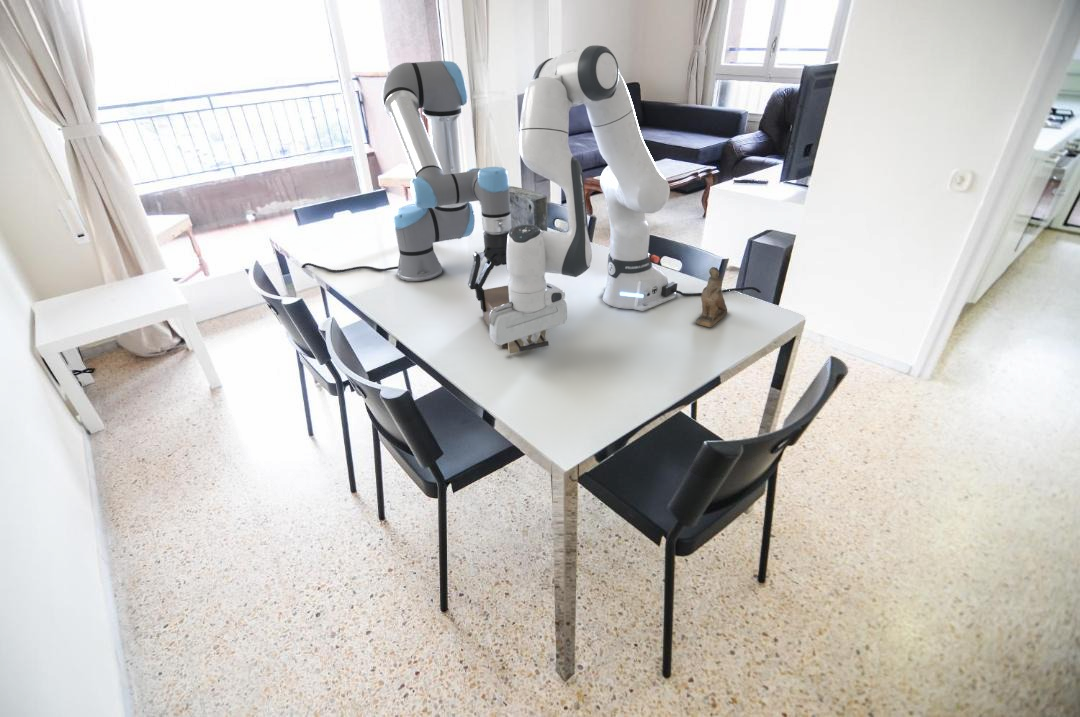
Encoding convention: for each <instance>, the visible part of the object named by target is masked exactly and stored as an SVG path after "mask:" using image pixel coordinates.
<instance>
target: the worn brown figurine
mask: <svg viewBox="0 0 1080 717" xmlns="http://www.w3.org/2000/svg"><path fill="white" fill-rule="evenodd" d="M708 273H709V275H710V276H709V278H708V279H707V280H708V281H707V284H706V286H705V287H704V288H703V290H702V292H701V293H702V295H701V297H700V298H701V309H702V312H701V315H700V316H699V317H698V318H697V319H696V321H695V324H696V325H699V326H703V327H705V328H712V327H714V326H715V325H716V324H717V323H719V321H721V320H722V319H723V318H725V317H726V316H727V315H728V307H727V304H726V301H725V298H724V293H722V290H723V289H722V287H723V281H722V279H721V278H720V270H719V269H718V268H717V267H715V266H712V267H711V268H710V269H709V270H708Z"/></svg>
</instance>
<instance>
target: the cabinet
mask: <svg viewBox="0 0 1080 717" xmlns="http://www.w3.org/2000/svg"><path fill="white" fill-rule="evenodd" d="M483 290H484V296H485V306H486V312H483V311H482V318H483V321H485V323H486V325H487V327H488V328H489V329H490V321H489V313H490V312H491V311H492V310H493V309H494V307H496V306H501V305H504V304H506V303H509V291H508V285H501V286H497V287H491V288H485V289H483ZM493 312H494V311H493ZM499 346H500V348H501V349H506V348H507V349H508V344H507V343H505V344H502V345H499Z"/></svg>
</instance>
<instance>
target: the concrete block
mask: <svg viewBox="0 0 1080 717" xmlns="http://www.w3.org/2000/svg"><path fill="white" fill-rule="evenodd" d="M509 194H510V212H511V227H512V228H511V229H513V228H514V227H516V226H519V225H525V224H530V225H535V226H537V227H539V228H540V229H541V231H548V196H547V195H546V194H543V193H541V192H537V191H534V190H531V189H527V188H523V187H518V186H511V185H509ZM511 229H510V230H511Z"/></svg>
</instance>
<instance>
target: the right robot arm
mask: <svg viewBox="0 0 1080 717" xmlns="http://www.w3.org/2000/svg"><path fill="white" fill-rule="evenodd" d="M581 105H584V106H585V109H586V114H587V116H588V120H589V123H590V127H591V129H592V133H593V136H594V139H595V142H596V145H597V148H598V151H599V154H600V156H601V157H602V159H603V160H604V161H605V163H606V164H607V166H605V168H603V169H602V172H601V175H600V177H599V186H600V189H601V191H602V194H603V195H604V198H605V203H606V208H607V216H608V219H609V229H610V230H609V231H610V236H609V238H610V240H609V253H608V254H607V255H608V257H607V280H606V285H605V289H604V291H603V292H604V293H603V294H602V301H603V302H604V303H605V304H606V305H608V306H611V307H613V308H619V309H624V310H625V309H626V310H636V311H641V312H644V311H647V310H650V309H652V308H654V307H656V306H659V305H661V304H663V303H666V302H668V301H671V300H673V299H675V298H676V294H679V295H680V296H684V297H699V296H702V292H697V293H696V292H695V293H693V292H690V293H689V292H682V291H680V290H678V282H675V281H670V282H669V279H668V277H667V275H665V273H663V271H661V270H660V269H658V268H657V267H655V266H654V265H653V263H654V264H658V263H659V262H660V260H661V259H660V256H658V255H655V254H651V253H650V252H649V248H650V236H651V229H650V225H649V222H648V221H647V219H646V218H647V217H646V215H645V214H655V213H657V212H659V211H661V210H662V209H663V208H664V207H665V206H666V204H667V203H668V201H669V198H670V193H671V189H670V184H669V182H668V180H667V179H666V178H665V176H664V175H663V174H662V173H661V171H660V170H659V169H658V167H657V165H656V162H655V161H654V158H653V157H652V155H651V153H650V151H649V149H648V147H647V145H646V143H645V141H644V138H643V136H642V133H641V130H640V129H641V128H640V126H639V122H638V119H637V116H636V111H635V107H634V104H633V101H632V98H631V95H630V92H629V89H628V86H627V84H626V82H625V79H624V78H623V76H622V74H621V72H620V70H619V64H618V60H617V58H616V56H615V55H614V53H613V52H612V51H611V50H610V49H609V48H608V47H607V46H605V45H598V44H597V45H589V46H587V47H581V48H576V49H575V48H574V49H572V50H571V49H570V50H568V51H565V52H564V53H562V54H559V55H557V56H555V57H550V58H548V59H546V60H544V61H542V62H541V63H540V64H539V65H538V66H537V67H536V69H535V71H534V73H533V76H532V80H531V81H530V82H529V83H528V84H527V85H526V88H525V90H524V95H523V98H522V105H521V112H520V119H519V133H518V134H519V136H518V137H519V138H518V147H519V155H520V158H521V160H522V162H523V164H524V165H525V166H526V167H527V168H528V169H529V170H530V171H531V172H533V173H534V174H536V175H538V176H540V177H543V178H544V179H546V180H549V181H551V182H553V183H555V184H556V185H558V186H559V187H560V188H561V190H562V191H563V193H564V196H565V200H566V211H567V221H568V231H565V232H563V231H549V230H547V231H541V229H540V228H539V227H537V226H535V225H530V224H525V225H519V226H516V227H514V228H513V229H511V230H510V231H509V233H508V238H507V249H506V262H507V265H506V270H507V273H508V282H507V286H508V291H509V303H506V304H504V305H501V306H496V307H494V309H493V310H492V311H491V312H490V313H489V321H490V328H489V338H490V341H492V342H493V343H494V344H496V345H498V346H500V345H502V344H505V343H508V342H511V341H514V340H517V339H521V340H522V342H523V343H524V346H526V345H530V344H535V343H537V341H538V339H539V337H540V331H543V330H545V331H546V330H549V329H552V328H554V327H555V328H556V327H558V326H561V325H563V324H565V323H566V321H567V320H568V307H567V302H566V300H565V298H566V293H565V291H563V289H561V288H560V287H557V286H556V285H554V284H552V283H548V282H547V281H546V277H545V273H547V274H557V275H562V276H568V277H573V278H577V277H579V276H581V275H582V274H584V273H585V272H586V271H588V269H590V267H591V262H592V259H593V251H592V244H591V239H590V233H589V231H590V230H589V223H588V211H587V199H586V191H585V190H586V189H585V182H584V174H583V169H582V166H581V163H580V160H579V159H578V158H576V157H574V155H573V153H572V151H571V148H570V143H569V131H570V111H571V109H572V108H574V107H578V106H581ZM652 262H653V263H652ZM726 289H727V290H726ZM726 289H722V293H723V294H725V293H729V292H738V291H739V292H740V291H747V290H752V291H755V292H757V293H759V294H761V293H762V291H761V290H760V289H759V288H757V287H756V286H744V287H733V288H732V287H731V288H726ZM729 290H730V291H729ZM493 311H494V312H493ZM529 335H532V337H531V340H528V341H527V340H526V339H528V336H529ZM527 351H529V350H527ZM527 351H526V352H527Z"/></svg>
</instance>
